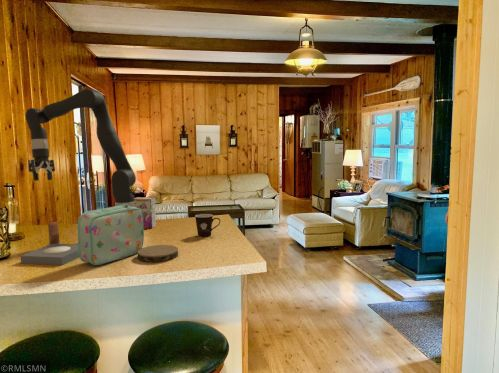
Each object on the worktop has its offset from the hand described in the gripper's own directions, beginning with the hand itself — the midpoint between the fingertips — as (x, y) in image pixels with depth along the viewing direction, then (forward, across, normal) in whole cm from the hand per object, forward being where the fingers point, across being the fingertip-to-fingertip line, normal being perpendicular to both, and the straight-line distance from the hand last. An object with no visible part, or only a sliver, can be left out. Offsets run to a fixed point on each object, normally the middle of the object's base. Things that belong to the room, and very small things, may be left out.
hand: (43, 180), depth 189 cm
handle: (+31, -18, -21) cm, 41 cm away
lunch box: (+34, -27, -58) cm, 72 cm away
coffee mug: (+34, +16, -81) cm, 89 cm away
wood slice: (+36, -21, -74) cm, 85 cm away
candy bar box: (+30, +27, -40) cm, 56 cm away
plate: (+33, -31, -34) cm, 56 cm away
